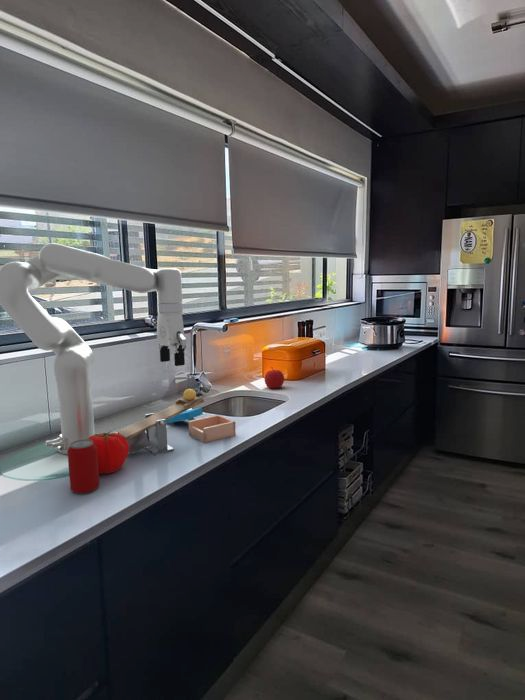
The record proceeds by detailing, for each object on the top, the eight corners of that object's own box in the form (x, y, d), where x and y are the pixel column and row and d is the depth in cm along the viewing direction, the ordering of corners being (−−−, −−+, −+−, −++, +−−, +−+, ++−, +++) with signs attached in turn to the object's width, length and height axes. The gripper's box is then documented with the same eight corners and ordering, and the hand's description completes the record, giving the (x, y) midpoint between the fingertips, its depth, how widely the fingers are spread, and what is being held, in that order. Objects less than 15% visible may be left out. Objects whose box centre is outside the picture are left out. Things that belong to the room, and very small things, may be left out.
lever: (131, 454, 137) (124, 433, 135) (123, 448, 143) (116, 428, 141) (208, 415, 151) (202, 396, 149) (197, 411, 156) (192, 392, 154)
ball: (187, 403, 148) (186, 390, 147) (181, 400, 151) (181, 388, 150) (198, 401, 150) (198, 389, 149) (192, 399, 153) (192, 387, 153)
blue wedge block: (165, 436, 170) (200, 431, 160) (160, 417, 170) (195, 411, 160) (178, 431, 176) (213, 425, 166) (174, 413, 176) (208, 406, 166)
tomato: (99, 484, 120) (96, 444, 119) (71, 473, 127) (67, 435, 126) (140, 466, 131) (138, 429, 129) (112, 457, 138) (109, 422, 136)
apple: (273, 391, 215) (272, 369, 214) (260, 387, 222) (260, 367, 221) (288, 387, 221) (287, 366, 220) (275, 384, 228) (275, 364, 226)
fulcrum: (155, 455, 139) (153, 422, 138) (141, 444, 148) (139, 414, 147) (173, 450, 143) (172, 419, 141) (158, 440, 152) (157, 411, 150)
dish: (204, 442, 149) (204, 428, 148) (189, 434, 158) (188, 421, 157) (235, 434, 156) (235, 421, 155) (219, 427, 164) (218, 414, 164)
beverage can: (103, 483, 121) (99, 438, 119) (94, 495, 114) (91, 447, 112) (76, 484, 120) (72, 438, 119) (66, 496, 114) (62, 448, 112)
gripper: (147, 308, 150) (149, 361, 153) (172, 310, 137) (174, 368, 139) (168, 307, 155) (170, 358, 157) (194, 309, 141) (196, 365, 144)
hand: (172, 363), depth 148 cm, fingers open, 9 cm apart
